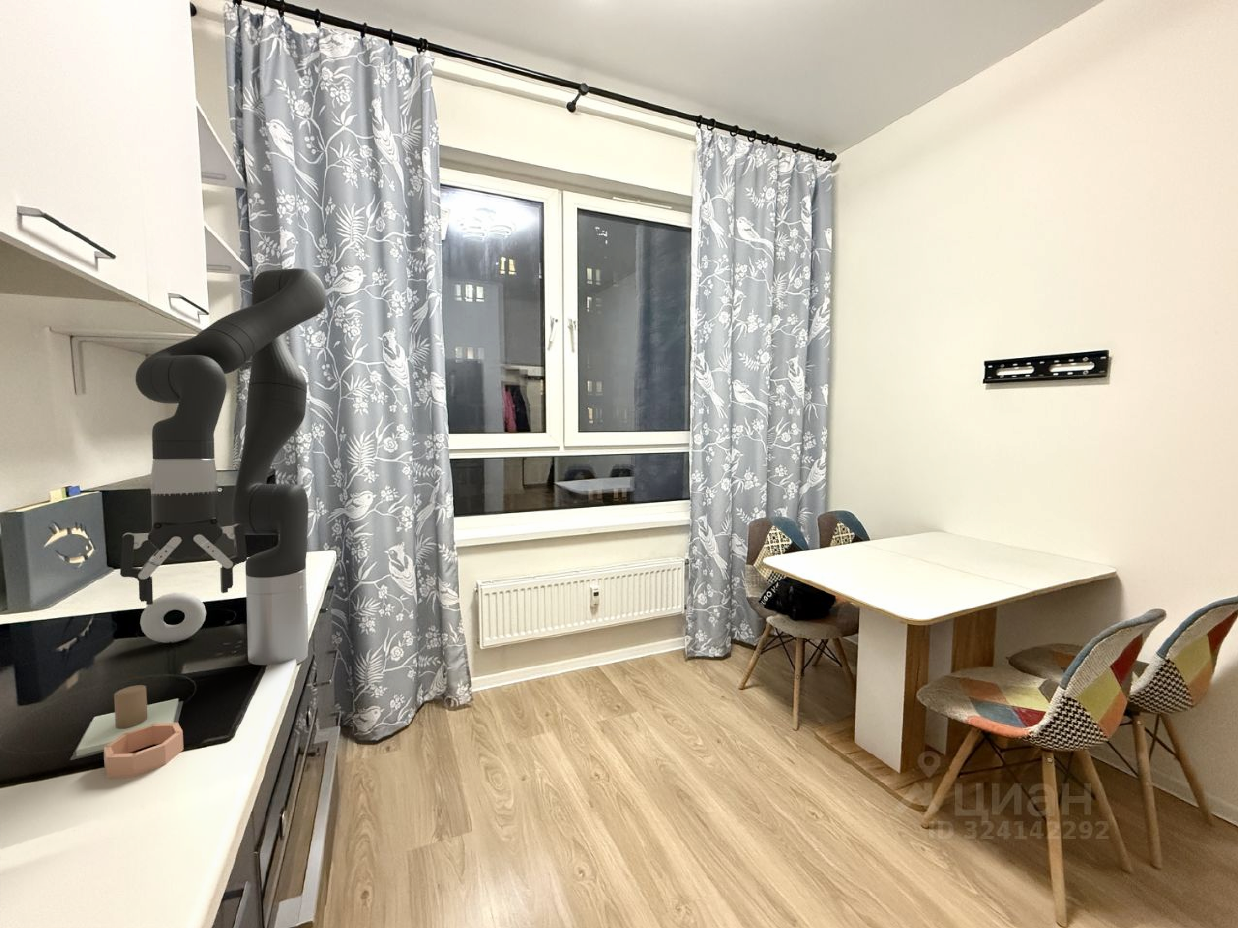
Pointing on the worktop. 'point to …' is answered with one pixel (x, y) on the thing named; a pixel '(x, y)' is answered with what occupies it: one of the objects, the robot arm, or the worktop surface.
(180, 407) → the robot arm
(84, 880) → the worktop surface
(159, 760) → the pink hollow octagonal piece
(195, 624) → the donut
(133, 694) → the lid
